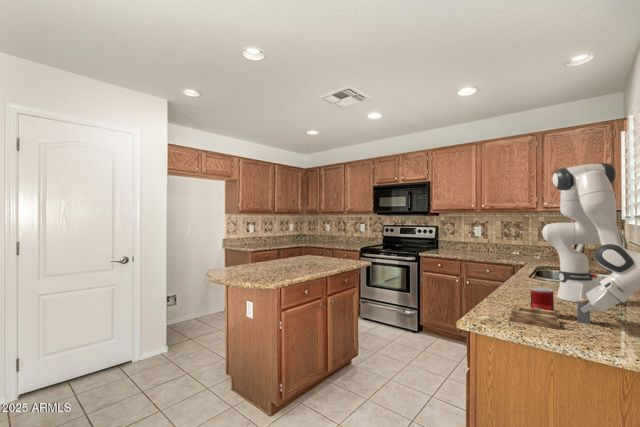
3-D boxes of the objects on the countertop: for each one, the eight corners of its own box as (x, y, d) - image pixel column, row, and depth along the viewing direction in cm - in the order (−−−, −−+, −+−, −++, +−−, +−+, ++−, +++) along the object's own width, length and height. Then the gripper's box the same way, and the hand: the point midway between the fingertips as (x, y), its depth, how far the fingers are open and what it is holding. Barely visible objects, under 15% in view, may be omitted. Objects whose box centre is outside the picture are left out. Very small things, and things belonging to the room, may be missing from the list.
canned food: (557, 317, 126) (557, 291, 126) (536, 316, 128) (535, 290, 128) (547, 312, 134) (547, 287, 134) (527, 310, 135) (527, 286, 135)
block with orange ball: (589, 321, 121) (588, 298, 121) (590, 324, 118) (589, 300, 118) (577, 319, 123) (576, 297, 124) (578, 322, 121) (577, 299, 121)
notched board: (558, 321, 122) (558, 311, 122) (559, 329, 113) (559, 318, 113) (511, 313, 131) (511, 304, 131) (509, 320, 122) (509, 311, 123)
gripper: (602, 277, 125) (572, 297, 131) (611, 286, 109) (576, 309, 115) (617, 289, 123) (585, 309, 128) (628, 301, 106) (592, 323, 112)
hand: (581, 309), depth 121 cm, fingers closed on block with orange ball, 4 cm apart
